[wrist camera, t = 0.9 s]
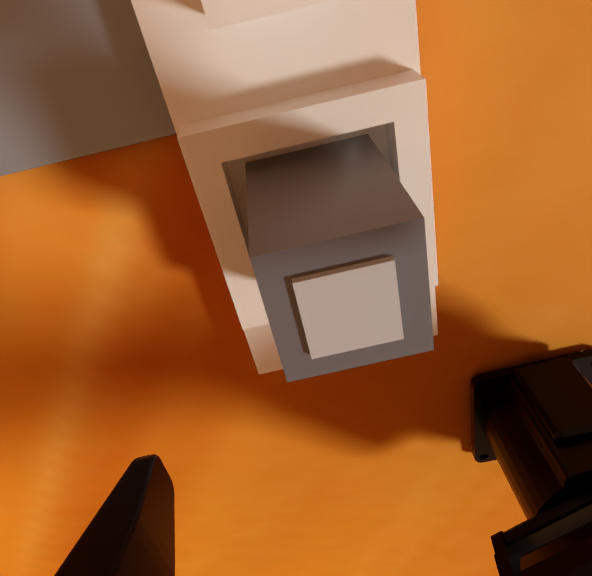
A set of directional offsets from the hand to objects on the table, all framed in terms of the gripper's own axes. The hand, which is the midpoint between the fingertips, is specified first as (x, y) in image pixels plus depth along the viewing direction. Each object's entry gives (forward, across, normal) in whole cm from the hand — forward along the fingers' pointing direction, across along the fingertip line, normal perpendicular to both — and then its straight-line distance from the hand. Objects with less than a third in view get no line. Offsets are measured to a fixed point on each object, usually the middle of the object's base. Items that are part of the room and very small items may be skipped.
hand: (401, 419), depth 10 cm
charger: (+10, 0, 0) cm, 10 cm away
